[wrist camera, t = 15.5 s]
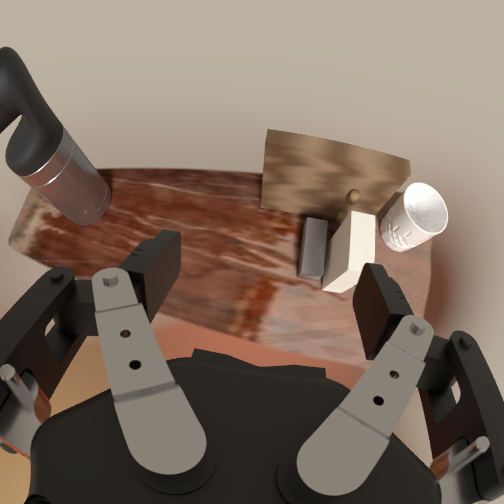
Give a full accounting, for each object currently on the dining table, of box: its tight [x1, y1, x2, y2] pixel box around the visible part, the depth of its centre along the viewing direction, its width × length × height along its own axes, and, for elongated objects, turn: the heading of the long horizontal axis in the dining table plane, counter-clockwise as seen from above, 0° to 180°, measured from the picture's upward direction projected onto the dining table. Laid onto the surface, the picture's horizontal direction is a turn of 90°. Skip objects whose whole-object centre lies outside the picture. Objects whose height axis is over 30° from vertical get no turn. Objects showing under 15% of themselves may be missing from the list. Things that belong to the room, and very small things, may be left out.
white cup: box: [380, 183, 448, 252], centre depth 39 cm, size 8×8×10 cm
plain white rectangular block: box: [322, 211, 375, 293], centre depth 36 cm, size 3×7×12 cm, turn 170°
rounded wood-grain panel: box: [261, 129, 411, 286], centre depth 35 cm, size 17×12×16 cm
